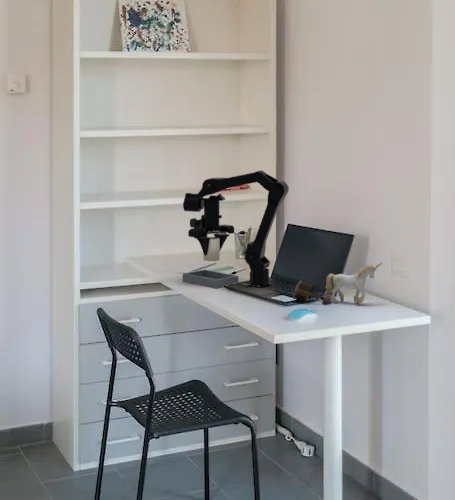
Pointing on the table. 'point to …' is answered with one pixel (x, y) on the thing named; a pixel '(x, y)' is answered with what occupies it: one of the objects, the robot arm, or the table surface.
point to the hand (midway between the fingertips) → (211, 254)
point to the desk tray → (210, 278)
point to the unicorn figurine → (349, 283)
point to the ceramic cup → (213, 250)
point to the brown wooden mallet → (308, 292)
